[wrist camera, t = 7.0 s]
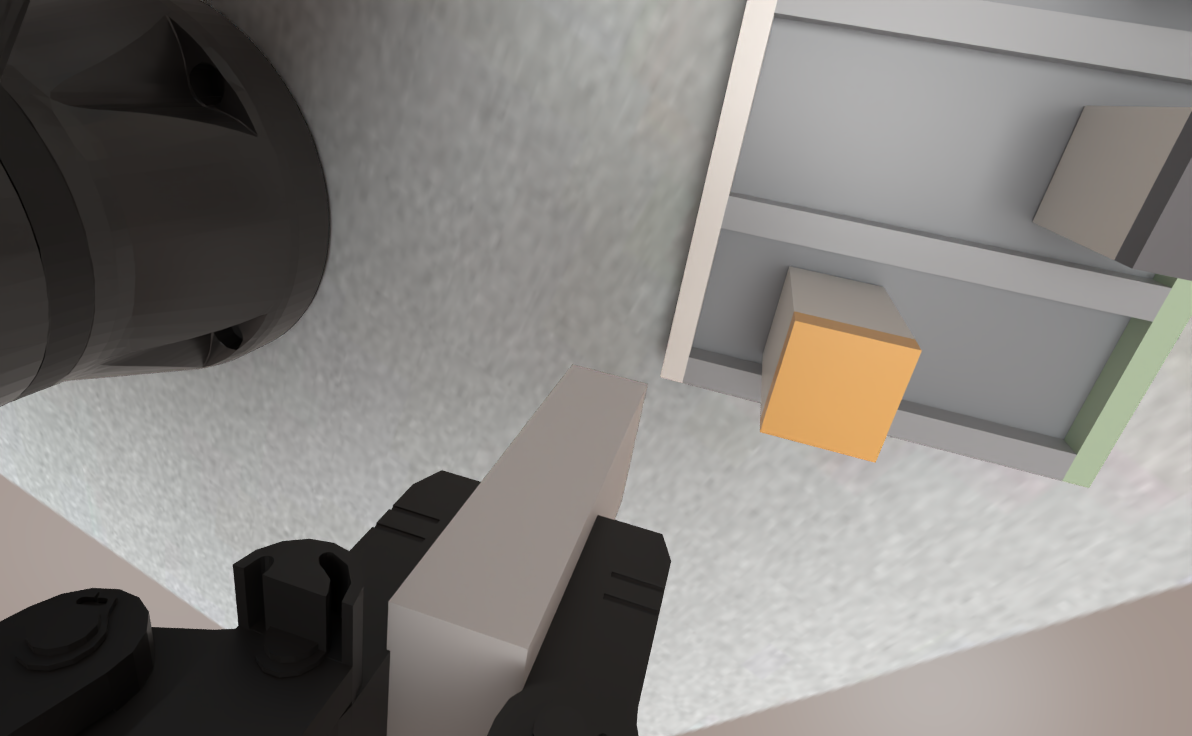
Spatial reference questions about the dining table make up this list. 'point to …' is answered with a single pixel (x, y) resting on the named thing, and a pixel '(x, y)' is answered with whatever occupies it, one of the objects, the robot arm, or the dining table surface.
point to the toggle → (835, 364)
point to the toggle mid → (1127, 188)
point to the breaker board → (939, 211)
